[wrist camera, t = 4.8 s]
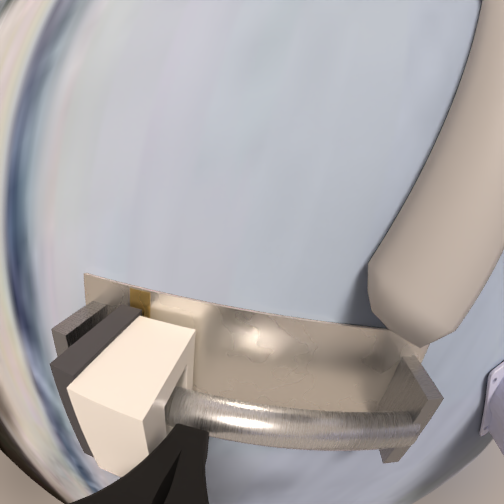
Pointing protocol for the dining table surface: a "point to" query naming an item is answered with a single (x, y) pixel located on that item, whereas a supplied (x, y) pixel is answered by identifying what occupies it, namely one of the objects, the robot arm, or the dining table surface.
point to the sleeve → (132, 392)
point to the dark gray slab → (88, 359)
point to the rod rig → (280, 374)
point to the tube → (450, 206)
